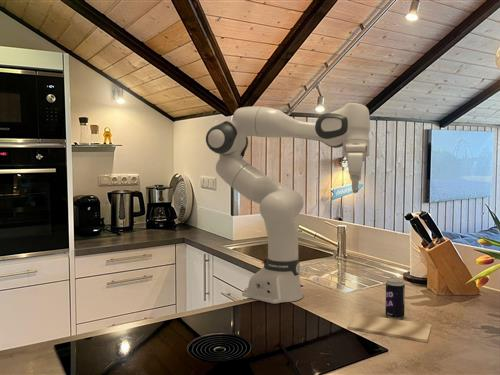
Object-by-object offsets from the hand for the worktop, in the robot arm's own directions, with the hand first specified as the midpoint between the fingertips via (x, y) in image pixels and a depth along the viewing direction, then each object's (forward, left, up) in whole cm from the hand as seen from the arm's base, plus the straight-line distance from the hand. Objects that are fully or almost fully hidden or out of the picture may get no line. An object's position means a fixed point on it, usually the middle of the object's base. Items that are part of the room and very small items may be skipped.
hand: (354, 191), depth 144 cm
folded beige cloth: (+14, -14, -39) cm, 44 cm away
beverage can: (+14, -4, -40) cm, 42 cm away
